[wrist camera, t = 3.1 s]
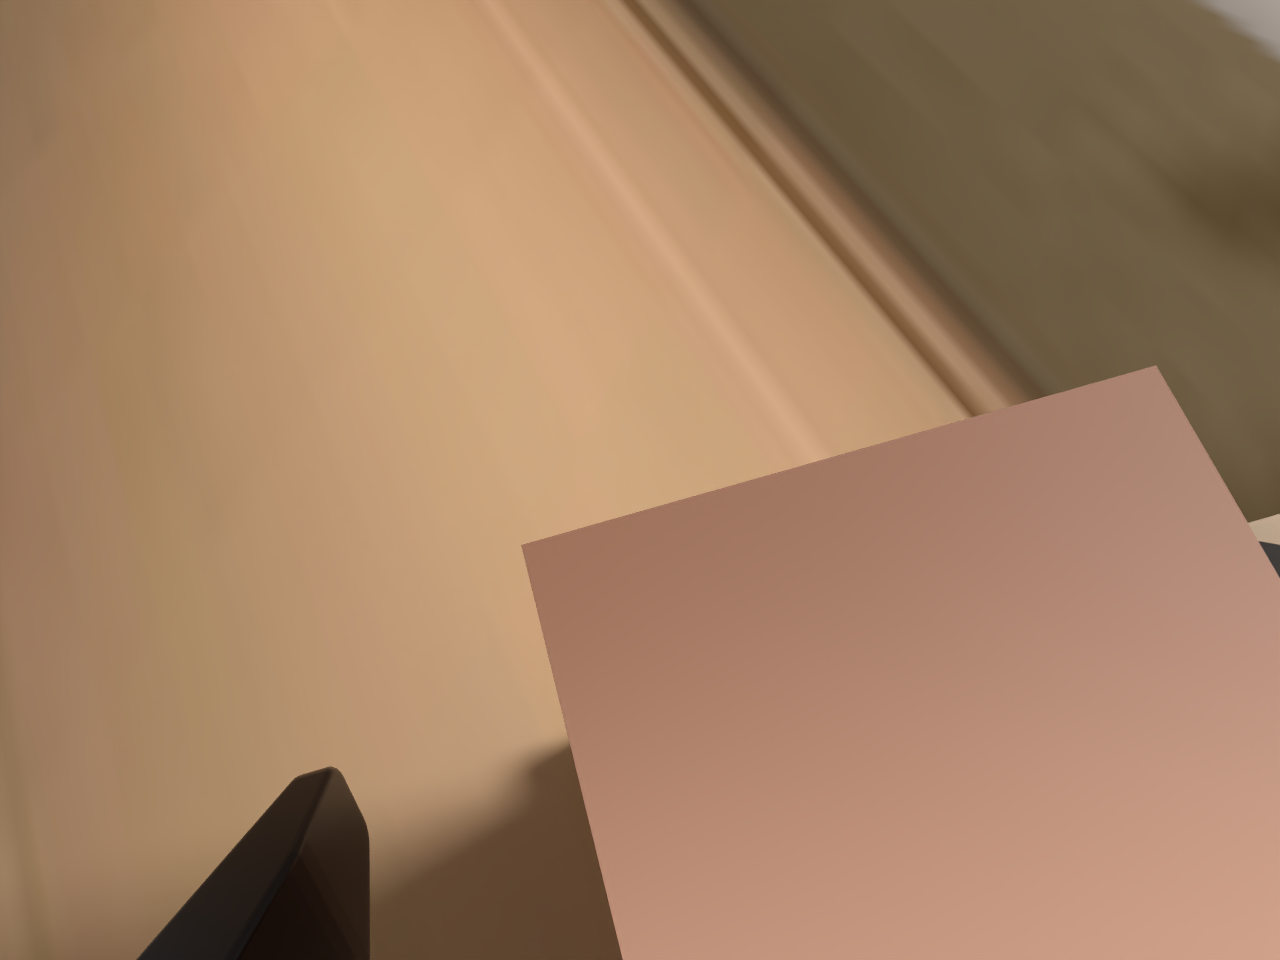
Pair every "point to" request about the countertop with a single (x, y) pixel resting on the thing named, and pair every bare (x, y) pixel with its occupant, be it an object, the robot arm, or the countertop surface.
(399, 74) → the countertop surface
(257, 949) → the robot arm
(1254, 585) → the board with upright post
